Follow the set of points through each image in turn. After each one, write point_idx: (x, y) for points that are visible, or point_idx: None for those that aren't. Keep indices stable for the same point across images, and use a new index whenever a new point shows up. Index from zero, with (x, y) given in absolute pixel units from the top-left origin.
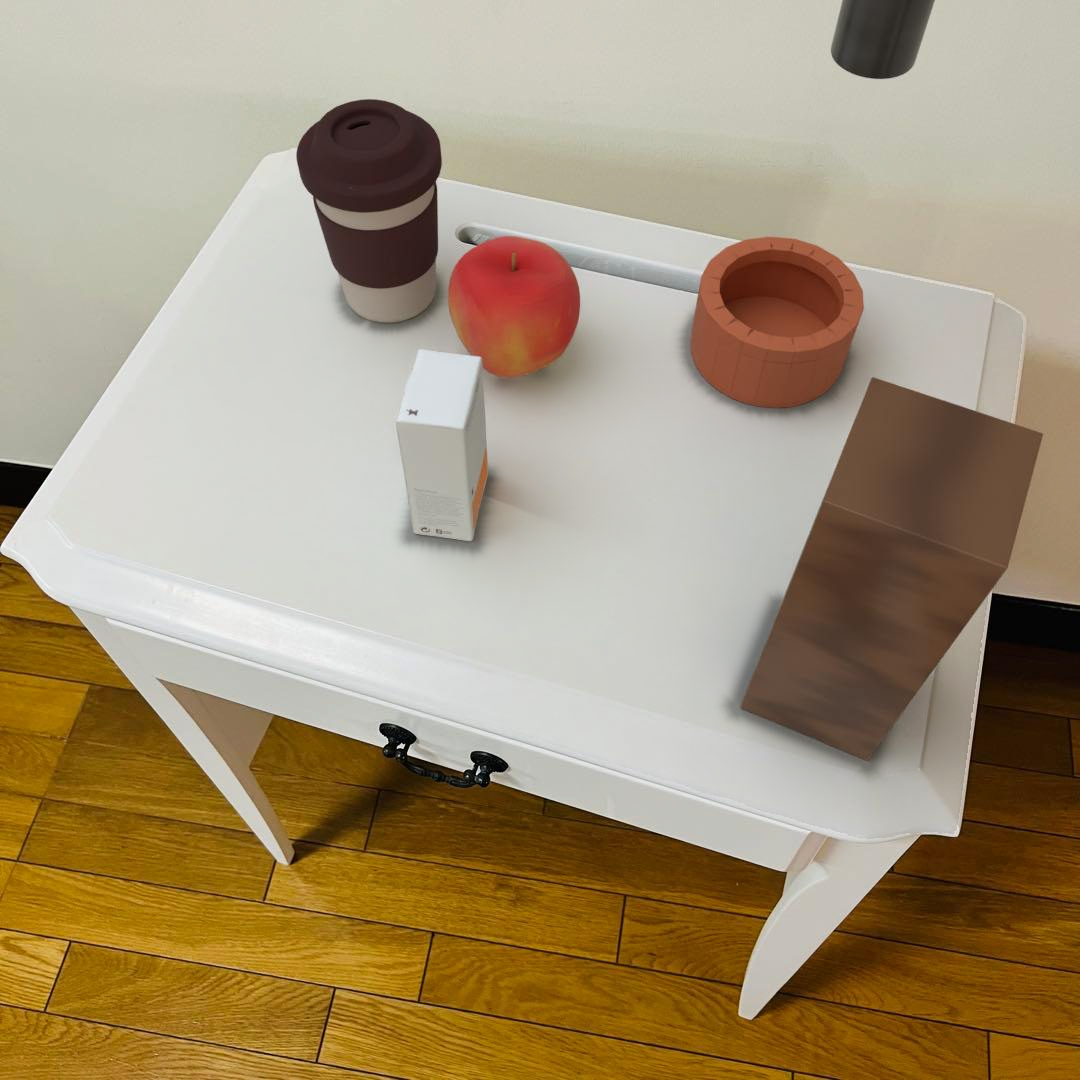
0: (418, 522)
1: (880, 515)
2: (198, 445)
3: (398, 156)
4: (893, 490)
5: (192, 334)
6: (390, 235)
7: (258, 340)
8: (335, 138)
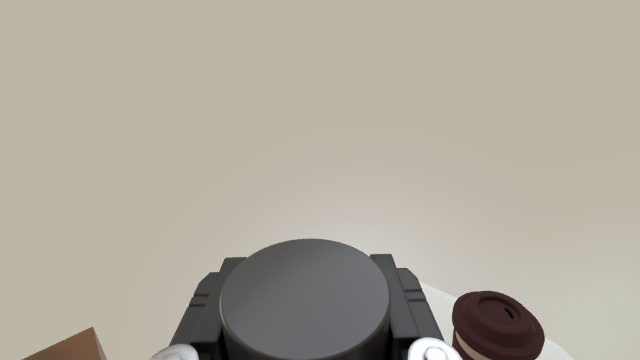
0: None
1: (59, 344)
2: None
3: (475, 320)
4: (58, 357)
5: (450, 306)
6: (454, 340)
7: (444, 326)
8: (495, 301)
